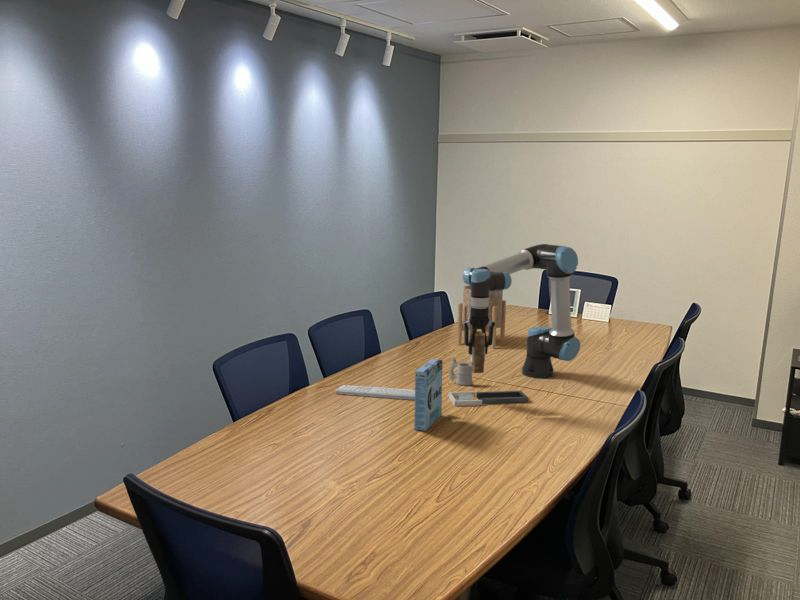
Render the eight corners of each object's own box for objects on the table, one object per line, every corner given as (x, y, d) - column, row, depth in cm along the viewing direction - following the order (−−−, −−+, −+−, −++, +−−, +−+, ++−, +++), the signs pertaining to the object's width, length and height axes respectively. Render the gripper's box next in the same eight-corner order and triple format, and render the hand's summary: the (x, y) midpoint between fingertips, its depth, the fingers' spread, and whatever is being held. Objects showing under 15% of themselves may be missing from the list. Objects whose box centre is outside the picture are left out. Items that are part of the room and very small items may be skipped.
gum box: (425, 431, 250) (427, 372, 246) (413, 429, 252) (414, 371, 247) (442, 414, 268) (443, 359, 263) (430, 413, 269) (431, 358, 265)
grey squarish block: (463, 400, 284) (463, 392, 283) (465, 403, 280) (466, 395, 279) (456, 400, 283) (456, 392, 283) (458, 403, 279) (459, 395, 279)
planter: (494, 349, 371) (496, 292, 365) (456, 344, 380) (457, 289, 374) (505, 340, 391) (507, 286, 385) (468, 336, 400) (469, 283, 394)
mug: (467, 389, 301) (468, 363, 298) (445, 384, 307) (445, 358, 305) (475, 384, 307) (476, 359, 304) (453, 380, 313) (454, 355, 311)
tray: (474, 397, 289) (474, 391, 288) (481, 407, 277) (482, 400, 276) (448, 398, 287) (448, 392, 286) (454, 408, 275) (455, 401, 275)
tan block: (480, 369, 283) (481, 330, 280) (483, 372, 278) (484, 333, 275) (471, 369, 282) (472, 331, 279) (474, 373, 278) (475, 333, 274)
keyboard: (438, 394, 295) (438, 388, 294) (435, 403, 283) (435, 397, 282) (342, 386, 303) (342, 381, 302) (334, 395, 291) (334, 390, 290)
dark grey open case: (520, 397, 291) (521, 390, 290) (528, 404, 281) (528, 397, 281) (476, 398, 288) (476, 392, 287) (482, 406, 278) (482, 399, 278)
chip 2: (470, 400, 284) (470, 392, 284) (472, 403, 280) (473, 395, 280) (463, 400, 284) (463, 392, 283) (465, 403, 280) (466, 395, 279)
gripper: (496, 304, 280) (494, 358, 284) (457, 305, 277) (455, 359, 282) (502, 308, 273) (499, 363, 277) (461, 309, 270) (459, 364, 275)
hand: (477, 361), depth 279 cm, fingers closed on tan block, 4 cm apart
